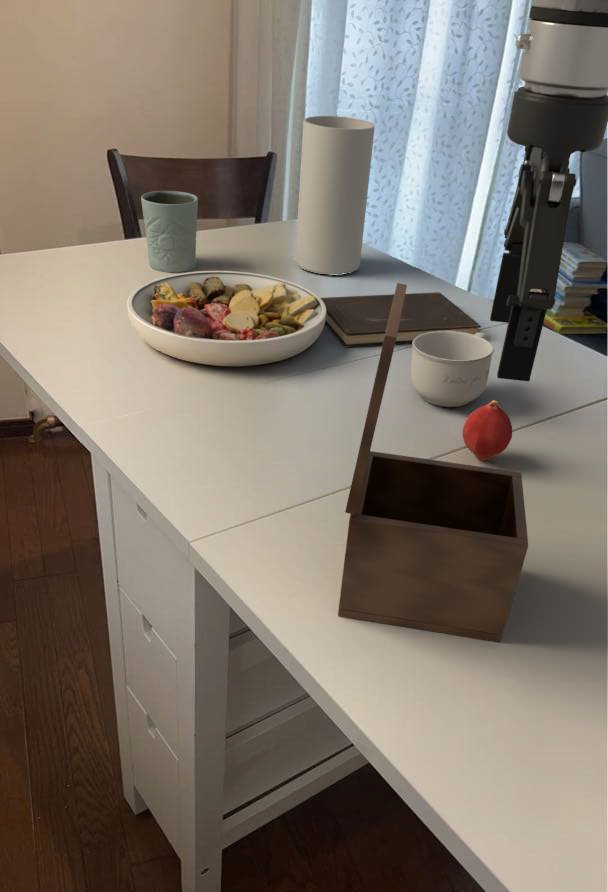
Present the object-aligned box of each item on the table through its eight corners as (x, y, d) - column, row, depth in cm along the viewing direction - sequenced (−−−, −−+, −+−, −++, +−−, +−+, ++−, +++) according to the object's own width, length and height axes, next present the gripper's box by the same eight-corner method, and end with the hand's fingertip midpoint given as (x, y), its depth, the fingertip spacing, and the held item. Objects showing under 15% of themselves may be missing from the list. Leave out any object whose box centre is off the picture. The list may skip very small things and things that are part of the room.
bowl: (183, 288, 139) (182, 242, 135) (347, 320, 132) (352, 272, 128) (91, 350, 116) (86, 297, 111) (284, 392, 109) (287, 337, 104)
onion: (455, 445, 100) (467, 387, 96) (500, 448, 100) (514, 390, 96) (460, 469, 96) (473, 409, 91) (508, 473, 96) (523, 413, 91)
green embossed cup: (164, 277, 143) (161, 207, 136) (133, 261, 149) (129, 193, 142) (210, 267, 149) (209, 199, 142) (178, 253, 155) (176, 187, 148)
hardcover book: (478, 339, 129) (481, 325, 128) (345, 347, 123) (346, 333, 122) (436, 303, 141) (438, 290, 140) (313, 310, 135) (314, 296, 134)
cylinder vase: (326, 281, 147) (338, 131, 132) (281, 262, 154) (288, 118, 140) (372, 269, 154) (389, 126, 140) (328, 252, 162) (339, 114, 147)
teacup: (442, 422, 105) (453, 365, 100) (388, 390, 112) (396, 335, 107) (513, 399, 112) (527, 345, 107) (459, 370, 119) (469, 318, 114)
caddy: (497, 563, 81) (521, 472, 75) (500, 642, 72) (528, 545, 65) (352, 541, 82) (364, 449, 76) (337, 616, 73) (349, 518, 67)
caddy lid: (407, 284, 66) (397, 282, 66) (396, 337, 57) (384, 335, 57) (369, 446, 76) (360, 444, 76) (354, 515, 66) (344, 512, 66)
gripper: (506, 67, 72) (465, 297, 85) (529, 108, 52) (471, 402, 65) (590, 74, 72) (536, 305, 84) (646, 118, 52) (564, 412, 64)
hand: (508, 347), depth 75 cm, fingers open, 13 cm apart
